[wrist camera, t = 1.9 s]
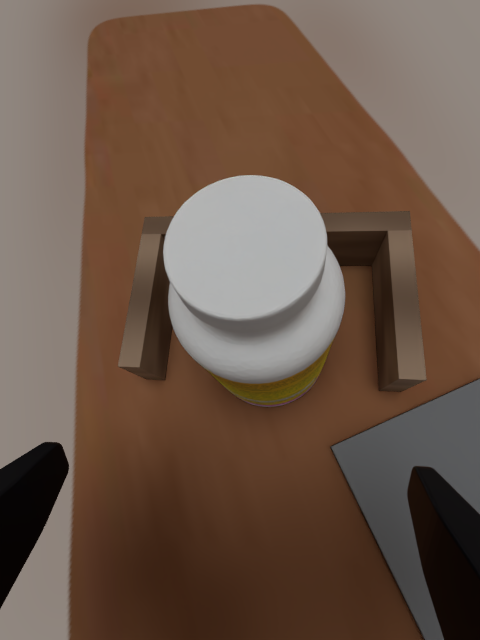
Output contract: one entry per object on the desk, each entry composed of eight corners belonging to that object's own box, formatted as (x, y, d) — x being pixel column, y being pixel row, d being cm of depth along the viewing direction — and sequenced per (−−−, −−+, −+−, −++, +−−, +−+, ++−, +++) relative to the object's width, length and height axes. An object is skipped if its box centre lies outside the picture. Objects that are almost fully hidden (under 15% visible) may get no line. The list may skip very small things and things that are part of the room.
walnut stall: (400, 391, 20) (426, 379, 16) (146, 379, 22) (117, 366, 19) (390, 248, 23) (409, 211, 19) (166, 250, 25) (144, 217, 22)
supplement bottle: (340, 388, 21) (411, 313, 9) (232, 422, 21) (152, 394, 9) (301, 289, 23) (314, 120, 11) (204, 320, 23) (112, 188, 11)
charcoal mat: (631, 569, 16) (641, 572, 16) (434, 660, 16) (439, 667, 16) (492, 372, 20) (497, 370, 19) (330, 446, 20) (331, 446, 19)
